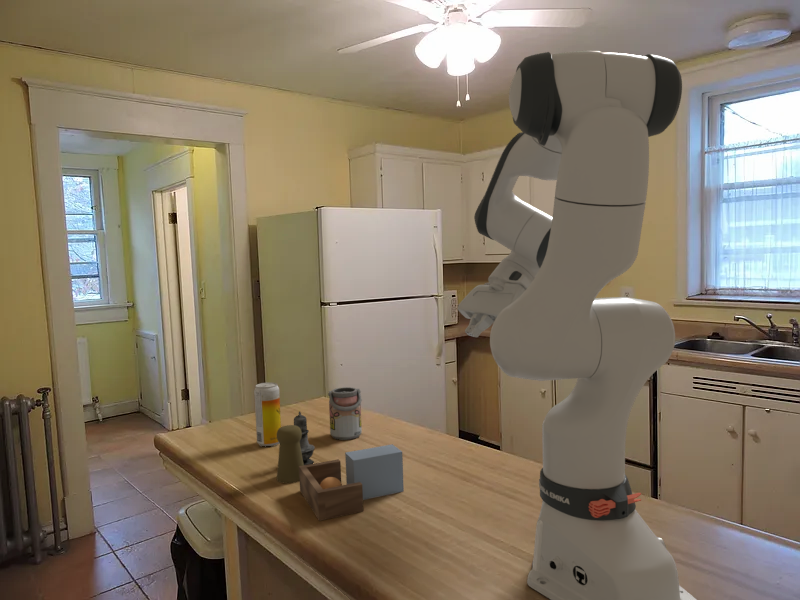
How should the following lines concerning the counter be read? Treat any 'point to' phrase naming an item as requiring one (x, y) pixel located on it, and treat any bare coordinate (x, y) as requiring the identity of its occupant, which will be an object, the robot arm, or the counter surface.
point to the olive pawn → (289, 454)
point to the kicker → (376, 470)
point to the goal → (329, 491)
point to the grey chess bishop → (304, 439)
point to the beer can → (267, 413)
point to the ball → (330, 483)
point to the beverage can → (345, 413)
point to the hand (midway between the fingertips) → (470, 334)
